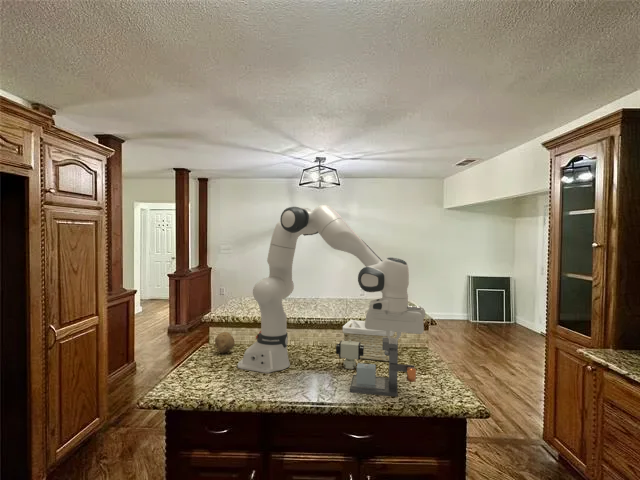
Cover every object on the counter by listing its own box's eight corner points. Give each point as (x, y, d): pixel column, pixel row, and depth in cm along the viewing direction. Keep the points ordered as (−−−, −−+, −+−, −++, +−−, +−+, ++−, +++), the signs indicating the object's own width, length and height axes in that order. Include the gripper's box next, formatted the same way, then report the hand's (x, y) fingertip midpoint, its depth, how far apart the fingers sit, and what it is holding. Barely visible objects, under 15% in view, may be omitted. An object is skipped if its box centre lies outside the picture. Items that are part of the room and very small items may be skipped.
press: (349, 392, 130) (350, 342, 130) (353, 377, 144) (353, 332, 144) (414, 398, 126) (415, 347, 126) (412, 382, 140) (412, 336, 140)
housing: (356, 383, 134) (356, 366, 134) (357, 378, 139) (357, 362, 139) (375, 385, 133) (375, 368, 133) (375, 380, 138) (375, 363, 138)
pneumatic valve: (362, 370, 151) (363, 342, 151) (335, 368, 154) (335, 340, 154) (363, 366, 157) (364, 339, 157) (337, 364, 159) (337, 337, 159)
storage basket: (340, 357, 168) (341, 326, 168) (349, 347, 184) (349, 318, 184) (392, 363, 161) (392, 331, 161) (396, 352, 176) (396, 323, 176)
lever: (407, 381, 123) (407, 370, 123) (406, 374, 130) (406, 363, 130) (416, 382, 123) (416, 370, 123) (414, 375, 129) (414, 364, 129)
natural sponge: (232, 349, 178) (233, 329, 178) (236, 354, 170) (236, 333, 170) (213, 351, 175) (214, 330, 175) (216, 357, 167) (216, 335, 166)
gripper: (424, 305, 126) (422, 344, 127) (366, 300, 130) (364, 338, 130) (426, 308, 120) (424, 349, 120) (365, 304, 124) (363, 343, 124)
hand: (393, 343), depth 125 cm, fingers closed
